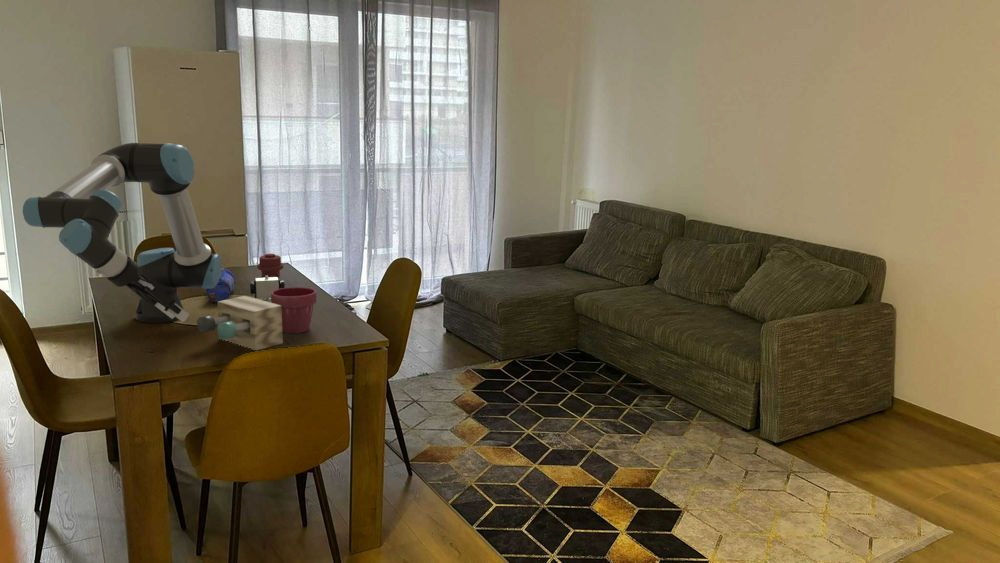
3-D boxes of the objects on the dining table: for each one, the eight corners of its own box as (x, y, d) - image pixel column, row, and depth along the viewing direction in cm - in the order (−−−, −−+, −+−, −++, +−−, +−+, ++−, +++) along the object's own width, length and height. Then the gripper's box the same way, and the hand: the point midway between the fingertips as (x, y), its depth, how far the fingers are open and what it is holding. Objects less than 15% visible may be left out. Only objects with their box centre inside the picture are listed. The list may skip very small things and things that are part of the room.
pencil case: (213, 290, 304) (211, 266, 302) (236, 289, 306) (235, 265, 304) (206, 304, 283) (205, 278, 281) (231, 303, 285) (230, 278, 283)
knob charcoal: (206, 334, 232) (206, 318, 231) (197, 331, 234) (196, 315, 233) (242, 325, 241) (241, 310, 240) (232, 322, 244) (232, 308, 243)
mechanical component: (272, 280, 322) (289, 284, 316) (252, 284, 313) (269, 288, 308) (271, 251, 319) (288, 254, 314) (251, 254, 311) (268, 257, 305)
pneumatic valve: (285, 309, 279) (284, 276, 276) (251, 311, 275) (249, 278, 272) (284, 305, 284) (283, 273, 281) (250, 307, 280) (249, 274, 277)
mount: (255, 350, 233) (253, 311, 230) (219, 338, 243) (217, 301, 240) (282, 343, 240) (281, 305, 238) (246, 331, 251) (244, 295, 248)
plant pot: (287, 321, 264) (286, 284, 261) (325, 325, 260) (324, 288, 257) (263, 332, 250) (262, 294, 247) (302, 337, 246) (301, 298, 244)
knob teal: (227, 341, 226) (226, 325, 225) (217, 337, 229) (216, 322, 228) (262, 331, 236) (262, 316, 235) (252, 328, 238) (252, 313, 237)
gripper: (89, 273, 202) (154, 321, 219) (125, 284, 192) (190, 333, 209) (108, 250, 205) (170, 299, 222) (144, 259, 195) (207, 310, 212)
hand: (180, 316), depth 215 cm, fingers open, 4 cm apart
